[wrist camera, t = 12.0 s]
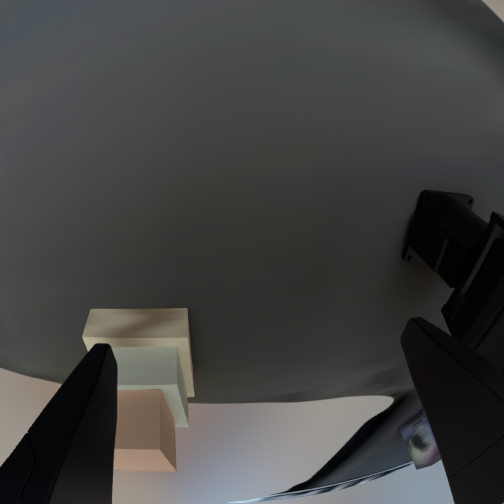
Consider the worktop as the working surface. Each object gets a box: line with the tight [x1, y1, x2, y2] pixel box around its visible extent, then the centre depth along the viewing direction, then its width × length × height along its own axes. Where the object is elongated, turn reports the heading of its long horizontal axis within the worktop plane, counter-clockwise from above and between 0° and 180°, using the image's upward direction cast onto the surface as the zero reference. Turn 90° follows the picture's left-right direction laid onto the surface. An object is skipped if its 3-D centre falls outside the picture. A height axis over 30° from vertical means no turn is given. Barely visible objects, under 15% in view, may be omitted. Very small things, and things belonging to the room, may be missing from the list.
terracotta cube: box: [113, 390, 177, 471], centre depth 18 cm, size 4×4×4 cm
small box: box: [399, 409, 441, 469], centre depth 44 cm, size 11×6×10 cm, turn 151°
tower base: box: [82, 308, 194, 397], centre depth 24 cm, size 8×8×4 cm
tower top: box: [112, 345, 189, 428], centre depth 22 cm, size 6×6×4 cm
